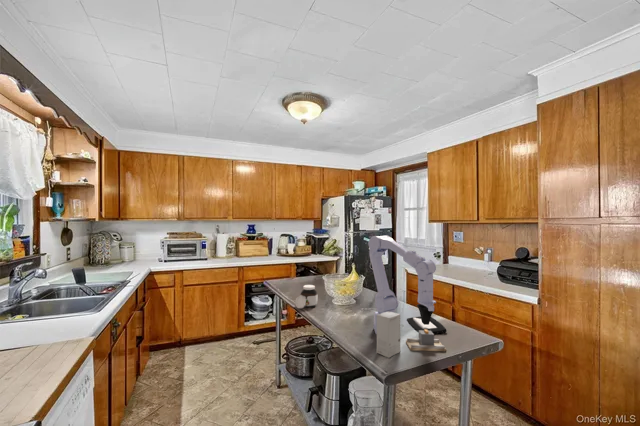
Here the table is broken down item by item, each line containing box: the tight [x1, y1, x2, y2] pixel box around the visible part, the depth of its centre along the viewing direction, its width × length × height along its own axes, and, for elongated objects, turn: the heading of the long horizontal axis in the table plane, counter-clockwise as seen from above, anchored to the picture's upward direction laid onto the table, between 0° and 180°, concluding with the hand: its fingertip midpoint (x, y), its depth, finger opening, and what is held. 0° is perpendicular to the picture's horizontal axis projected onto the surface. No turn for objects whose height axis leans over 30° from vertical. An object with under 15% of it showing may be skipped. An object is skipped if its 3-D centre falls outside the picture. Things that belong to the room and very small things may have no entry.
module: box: [418, 329, 435, 345], centre depth 118 cm, size 5×4×6 cm
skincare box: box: [376, 311, 401, 359], centre depth 113 cm, size 8×6×15 cm
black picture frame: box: [406, 316, 448, 335], centre depth 141 cm, size 20×3×14 cm
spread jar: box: [295, 284, 319, 309], centre depth 170 cm, size 12×11×12 cm
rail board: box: [405, 337, 447, 352], centre depth 118 cm, size 14×7×2 cm, turn 87°
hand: (425, 323), depth 118 cm, fingers closed
